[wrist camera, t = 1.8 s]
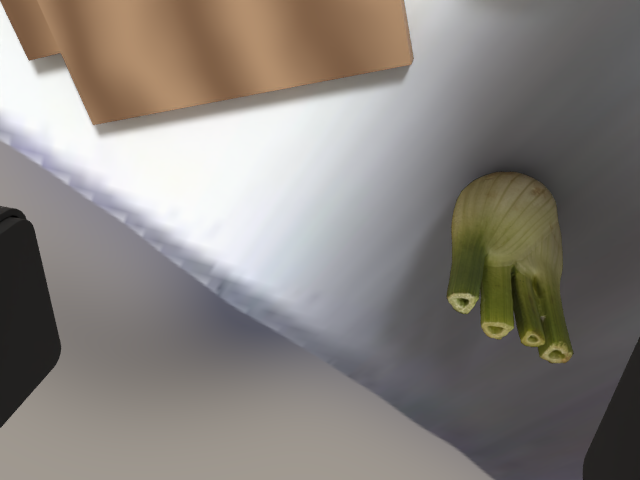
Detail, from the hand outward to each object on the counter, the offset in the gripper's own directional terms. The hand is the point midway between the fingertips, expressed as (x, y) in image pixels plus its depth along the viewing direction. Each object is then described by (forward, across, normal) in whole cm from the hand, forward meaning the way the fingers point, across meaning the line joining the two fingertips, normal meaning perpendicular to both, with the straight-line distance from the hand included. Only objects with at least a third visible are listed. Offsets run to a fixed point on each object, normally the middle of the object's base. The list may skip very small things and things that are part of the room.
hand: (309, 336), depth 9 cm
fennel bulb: (+25, -6, +9) cm, 27 cm away
